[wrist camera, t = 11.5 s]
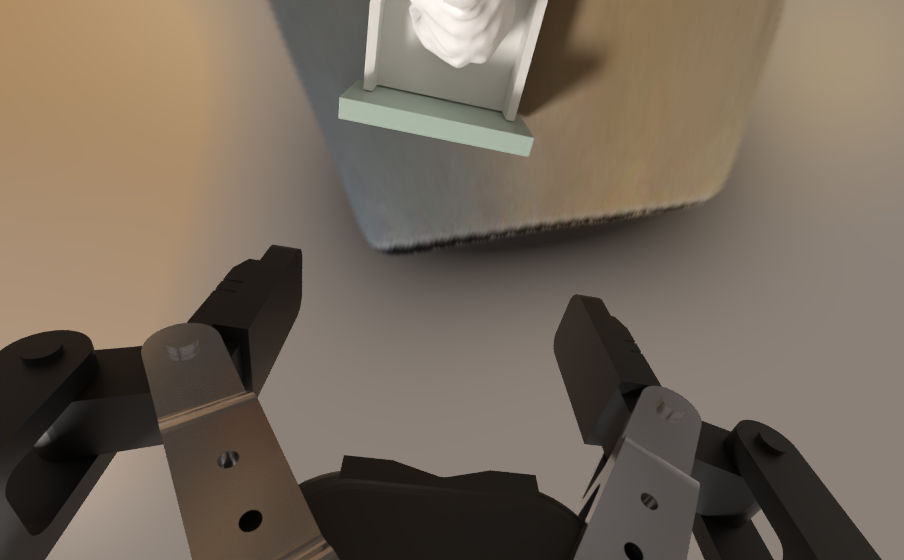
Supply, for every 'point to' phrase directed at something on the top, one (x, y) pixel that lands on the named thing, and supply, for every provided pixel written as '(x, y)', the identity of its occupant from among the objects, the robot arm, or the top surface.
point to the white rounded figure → (462, 27)
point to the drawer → (444, 82)
